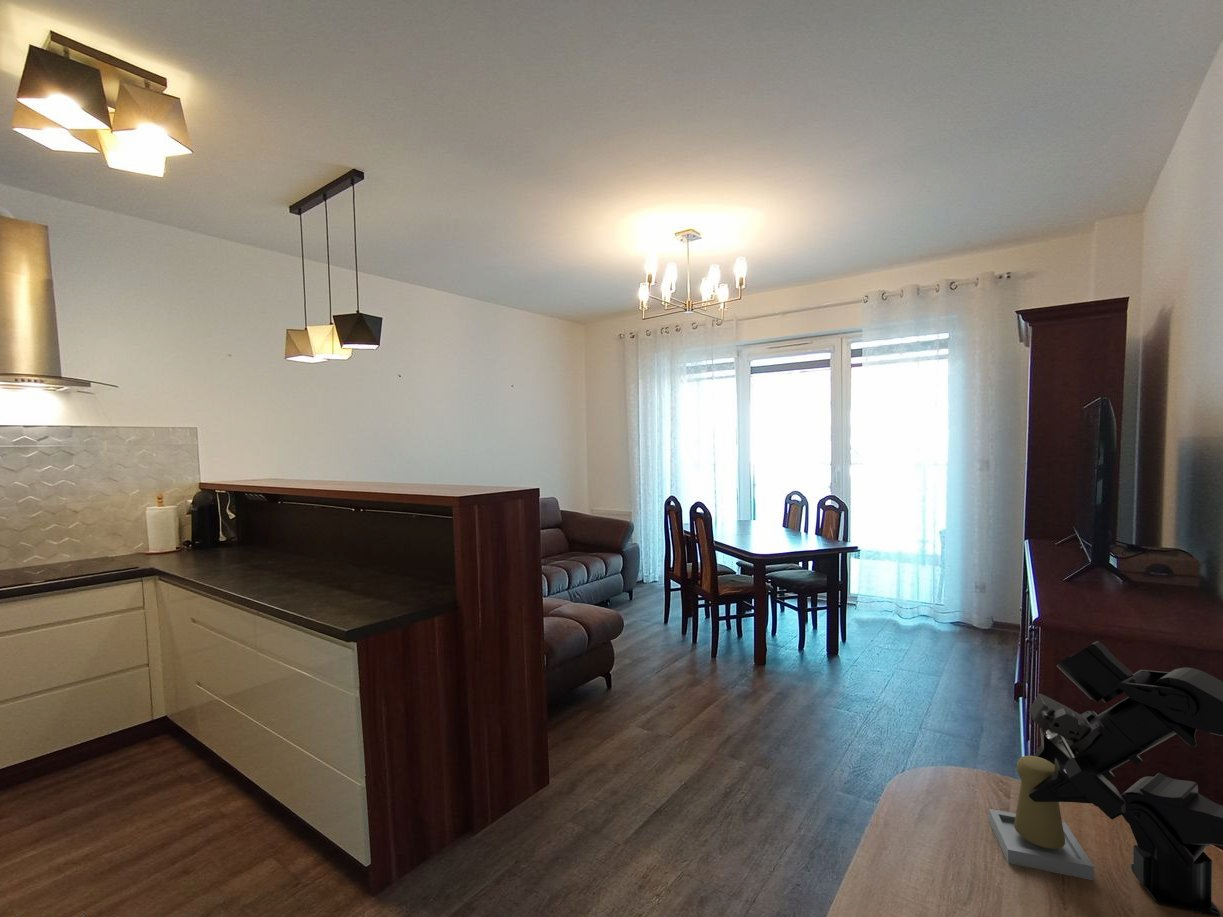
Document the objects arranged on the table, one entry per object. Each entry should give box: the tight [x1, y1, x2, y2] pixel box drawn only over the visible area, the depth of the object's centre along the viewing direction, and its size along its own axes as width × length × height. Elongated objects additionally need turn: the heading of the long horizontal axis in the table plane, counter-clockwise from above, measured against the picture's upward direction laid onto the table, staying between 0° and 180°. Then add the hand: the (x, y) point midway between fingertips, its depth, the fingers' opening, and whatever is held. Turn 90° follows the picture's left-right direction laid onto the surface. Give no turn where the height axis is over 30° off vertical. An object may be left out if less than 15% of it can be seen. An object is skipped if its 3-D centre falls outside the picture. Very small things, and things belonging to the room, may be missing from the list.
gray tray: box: [988, 808, 1095, 881], centre depth 81 cm, size 10×9×2 cm
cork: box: [1014, 755, 1065, 848], centre depth 81 cm, size 6×6×11 cm
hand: (1026, 787), depth 81 cm, fingers closed on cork, 5 cm apart
